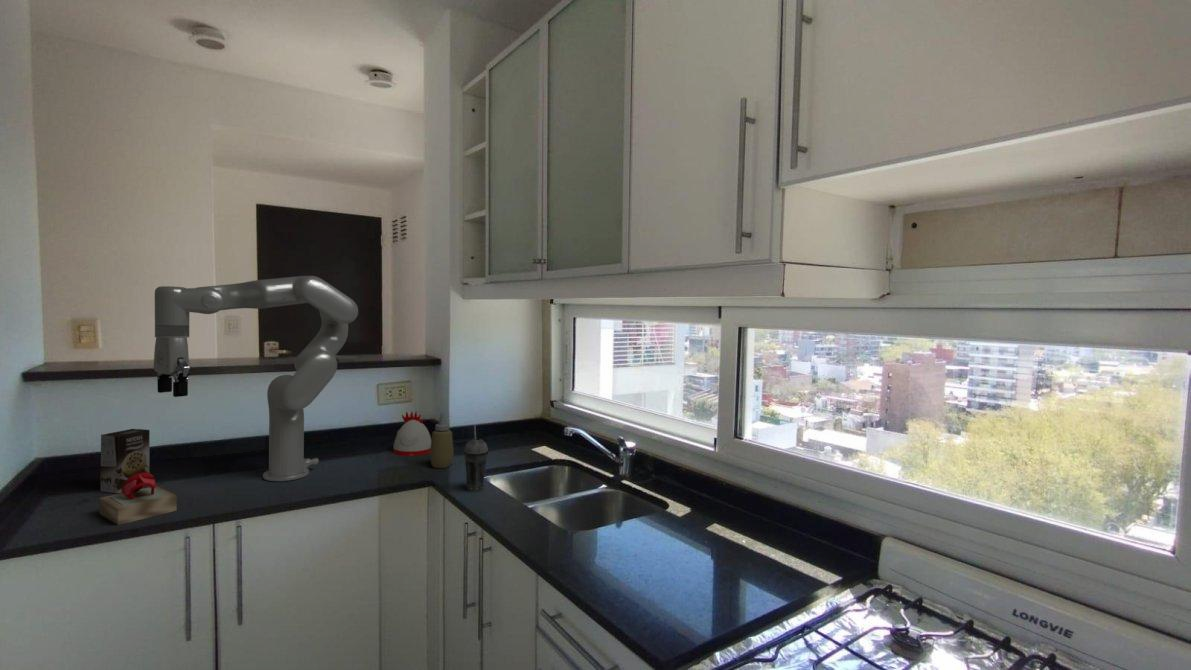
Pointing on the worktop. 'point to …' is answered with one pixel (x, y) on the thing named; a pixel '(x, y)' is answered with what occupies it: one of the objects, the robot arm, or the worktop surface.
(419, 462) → the worktop surface
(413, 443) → the kitchen timer
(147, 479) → the red bell pepper
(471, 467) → the beverage cup
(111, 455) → the coffee box
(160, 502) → the pedestal
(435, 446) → the squeeze bottle
